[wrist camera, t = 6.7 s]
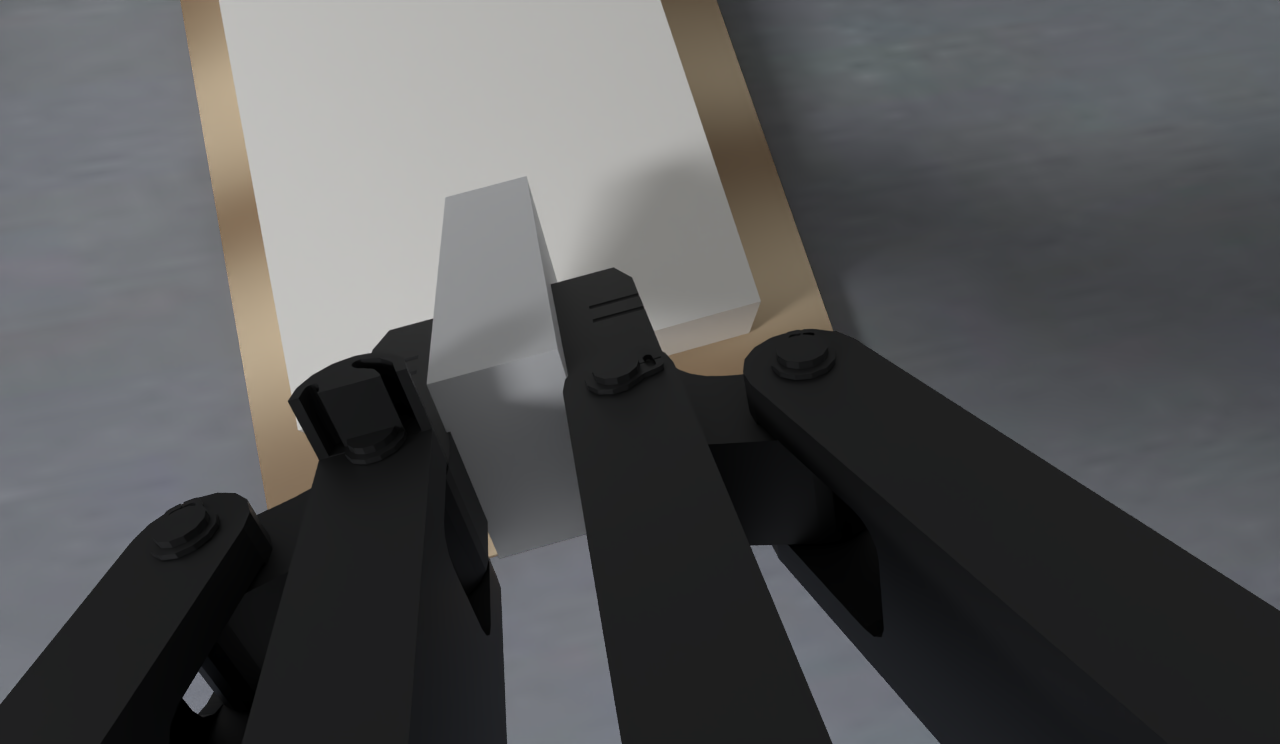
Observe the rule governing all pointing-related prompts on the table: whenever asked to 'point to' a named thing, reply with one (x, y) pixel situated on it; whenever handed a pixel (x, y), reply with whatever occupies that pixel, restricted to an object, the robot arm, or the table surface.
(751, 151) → the mat
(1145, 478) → the table surface
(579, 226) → the tile
